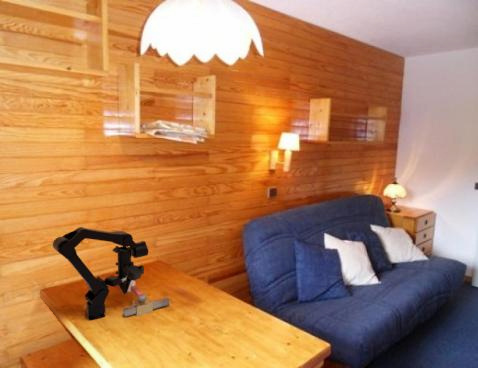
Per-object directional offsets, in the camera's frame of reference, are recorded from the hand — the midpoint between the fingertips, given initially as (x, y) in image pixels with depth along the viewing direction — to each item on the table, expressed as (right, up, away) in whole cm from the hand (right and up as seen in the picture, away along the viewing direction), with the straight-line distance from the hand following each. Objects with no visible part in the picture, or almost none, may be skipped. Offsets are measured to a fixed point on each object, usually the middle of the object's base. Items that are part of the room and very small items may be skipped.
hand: (125, 293), depth 165 cm
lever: (+6, -1, 0) cm, 6 cm away
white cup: (-4, -4, +19) cm, 20 cm away
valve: (+10, -7, -2) cm, 13 cm away
